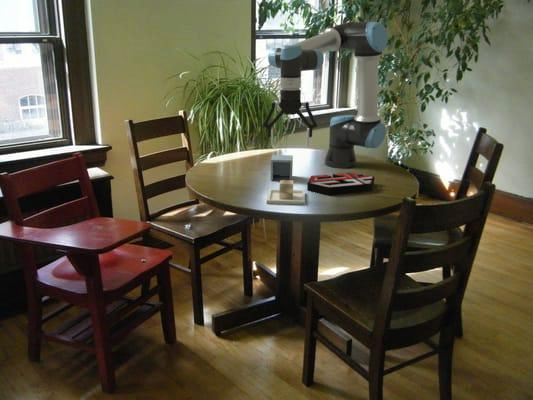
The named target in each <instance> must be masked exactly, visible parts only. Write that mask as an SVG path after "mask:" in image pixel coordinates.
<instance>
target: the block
mask: <svg viewBox="0 0 533 400" xmlns="http://www.w3.org/2000/svg"><path fill="white" fill-rule="evenodd" d="M279 189H280V194H279V199H291V200H293V190H294V180H293V179H292V180H290V179H288V180H287V179H283V180H282V179H281V180H280V181H279Z"/></svg>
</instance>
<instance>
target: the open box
mask: <svg viewBox="0 0 533 400" xmlns="http://www.w3.org/2000/svg"><path fill="white" fill-rule="evenodd" d="M293 159H294V156H293V155H291V154H289V155H288V154H287V155H286V154H272V155H271V158H270V181H271V180H274V177H275V176H274V175H280V176H279V177H289V180H292V181H293V163H294V162H293ZM273 176H274V177H273Z"/></svg>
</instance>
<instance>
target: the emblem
mask: <svg viewBox="0 0 533 400" xmlns="http://www.w3.org/2000/svg"><path fill="white" fill-rule="evenodd" d="M375 178H376V177H375V176H373V175H368V174H367V175H363V174H362V173H357V172H337V173H332V175H328V174H317V175H311V176H310V178H309V179H308V181H307V187H306V190H307V191H308V192H310V191H311V193H314V192H315V194H318V193H319V195H324V196H328V197H331V196H332V197H333V196H342V195H352V194H363V193H369V192H370V193H371V192H373V188H374V186H375Z"/></svg>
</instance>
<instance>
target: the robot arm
mask: <svg viewBox="0 0 533 400" xmlns="http://www.w3.org/2000/svg"><path fill="white" fill-rule="evenodd" d="M388 44H389V35H388V30H387V28H386V27H385V26H384V24H383V23H381V22H377V21H348V22H343V23H340V24H337V25H335V26H332V27H329V28H327V29H326V30H324V32H322V33H320V34H318V35H314V36H312V37H310V38H307V39H304V40H301V41H298V42H296V43H294V44H293V43H292V44H286V45H282V46H281V47H274V48H271V49H270V51H269V53H268V55H267V60H268V64H269V65H270V66H271V67H272V68H276V69H280V85H279V87H280V90H279V91H280V93H279V95H280V96H279V97H280V100H279V102H277V101H272V102H271V107H270V110H269V112H268V113H267V116H266V118H265V120H264V122H263V124H262V125H263V127H264V128H266V129H267V137H269V138H270V146H271V147H273V146H274V127H273V126H274V125H275V124H276V122H277V121H279V119H280V118H281V117H282V116H283V115H284V114H285V115H288V116H289V115H298V117H299V118H300V119H301V120H302V121H303V123H305V125H306V126H307V128H306V147H309V146H310V138H312V137H313V129H315V128H317V127H318V124H317V121H316V119H315V117H314V114H313V112H312V111H311V108H310V103H309V101H305V102H301V101H302V100H301V97H302V96H301V95H302V93H301V92H302V90H301V88H302V72H304V71H315V70H319V69H320V68H322V66H323V65H324V54H325V53H326V52H329V51H330V52H335V51H338V50H340V51H341V50H347V51H353V57H355V58H356V60H357V114H356V115H354V114H347V115H337V116H332V117H331V119H330V122H329V123H330V125H329V139H328V141H329V144H328V150H327V151H326V155H325V158H324V165H326V166H327V167H331V168H337V169H348V168H349V169H350V168H355V167H357V163H358V162H357V161H358V160H357V156H356V153H355V152H356V151H355V146H357V147H362V148H365V149H372V150H373V149H378V148H379V147H380V146H381V145H382V144H383V142H384V140H385V138H386V135H387V127H386V125H385V124H384V123H383V122H382V118H381V116H380V115H379V113H378V110H379V109H378V102H379V101H378V100H379V98H378V96H379V95H378V94H379V93H378V92H379V91H378V90H379V59H380V57H381V56H383V52H385V50H386V49H387V45H388ZM278 107H279V108H280V111H279V112H278V113H277V115H276V116H275V117H274V118H273V119H272V120H271V122H269V121H270V119H271V117H272V115H273V113H274V112H275V109H277V108H278ZM302 107H303V109H305V110H306V112H307V115H308V117H309V119H310V121H311V122H310V121H309V120H308V119H307V117H306V116H305V115H304V114H303V112H301V110H300V109H301V108H302ZM311 123H312V124H311Z"/></svg>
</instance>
